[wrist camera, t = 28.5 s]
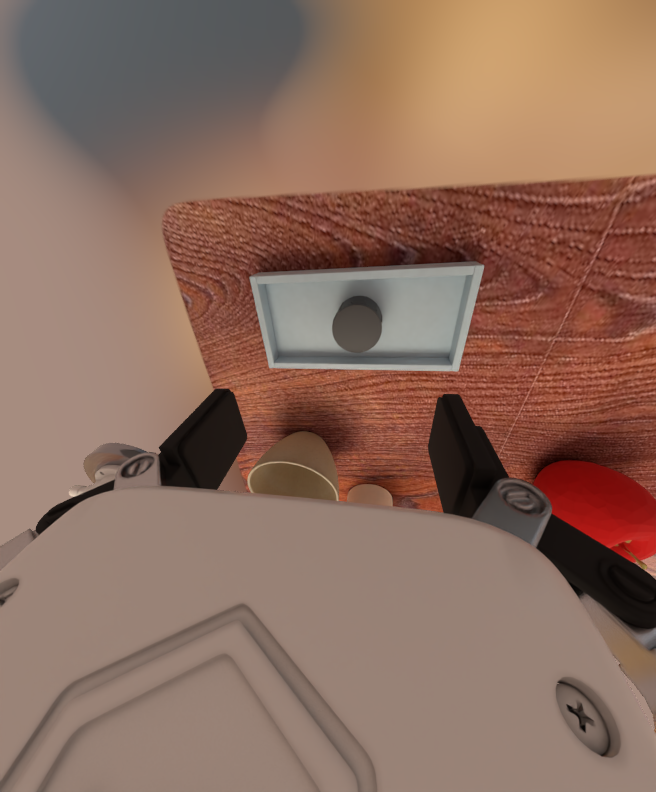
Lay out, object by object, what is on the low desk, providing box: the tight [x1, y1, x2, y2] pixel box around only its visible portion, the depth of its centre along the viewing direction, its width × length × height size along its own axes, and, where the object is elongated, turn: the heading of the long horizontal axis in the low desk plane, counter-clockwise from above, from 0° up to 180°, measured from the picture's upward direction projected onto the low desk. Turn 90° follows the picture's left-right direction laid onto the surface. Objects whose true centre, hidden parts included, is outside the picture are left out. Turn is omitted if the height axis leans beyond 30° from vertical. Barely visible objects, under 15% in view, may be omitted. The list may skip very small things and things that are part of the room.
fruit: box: [533, 460, 656, 569], centre depth 25 cm, size 9×9×10 cm
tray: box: [249, 261, 484, 371], centre depth 22 cm, size 17×8×2 cm, turn 94°
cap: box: [332, 296, 382, 353], centre depth 21 cm, size 4×4×3 cm
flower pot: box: [248, 431, 339, 501], centre depth 30 cm, size 10×10×7 cm
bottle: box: [347, 484, 393, 506], centre depth 31 cm, size 6×6×16 cm
